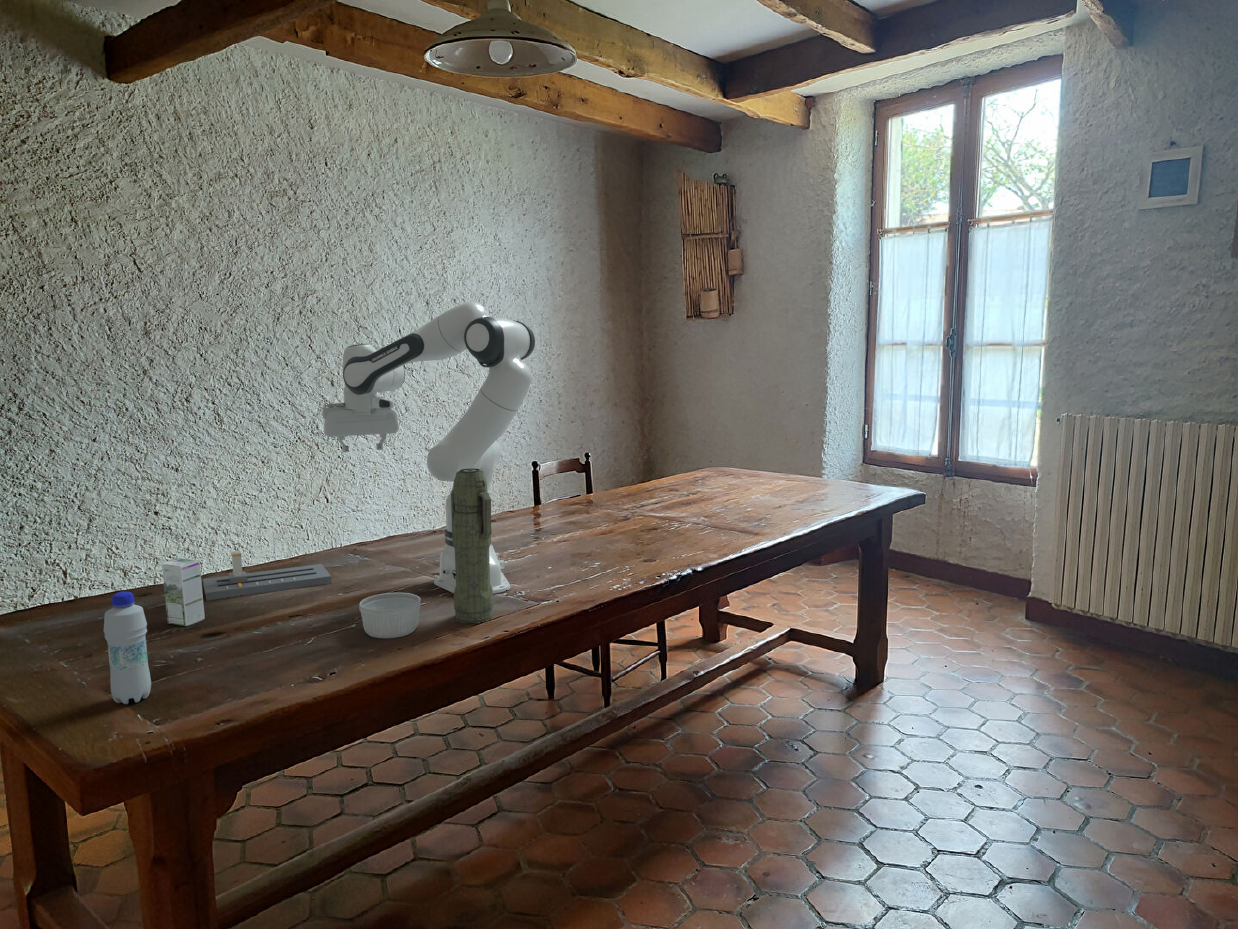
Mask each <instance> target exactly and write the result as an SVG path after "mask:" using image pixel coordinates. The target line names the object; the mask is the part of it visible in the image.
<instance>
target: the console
mask: <svg viewBox="0 0 1238 929" xmlns="http://www.w3.org/2000/svg"><path fill="white" fill-rule="evenodd" d="M246 574H247V582H240V583H232V584H231V583H230V580H229V575H223V576H222V575H221V576H215V577H206V578H202V582H203V583H202V585H203V586H202V587H203V590H204V594H205V595H206V596H205V595H204V596H205V599H206V601H213V600H221V598H222V599H228V598H227V597H229V598H236V597H241V596H240V595H244V596H251V595H257V594H258V595H259V594H265V593H271V592H278V591H279V592H280V591H287V590H292V589H293V590H294V589H300V588H308V587H315V586H322V585H331V584H332V575H331V574H330V573H329V571H328V570H327V569H326V568H325V566H324V565H323V563H318V564H311V565H310V564H309V565H304V566H294V567H287V568H278V569H271V570H262V571H255V572H246ZM235 596H236V597H235Z"/></svg>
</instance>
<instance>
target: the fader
mask: <svg viewBox="0 0 1238 929" xmlns="http://www.w3.org/2000/svg"><path fill="white" fill-rule="evenodd" d="M230 553H231V561H232V564H231V566H232V572H229V573H228V576H229V580H230V583H231V584H232V583H240V582H247V574H246V573H247V572H246V571H244V570H243V564H242V563H243V562H242V552H241V550H233V551H231V552H230Z"/></svg>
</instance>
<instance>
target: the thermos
mask: <svg viewBox="0 0 1238 929" xmlns="http://www.w3.org/2000/svg"><path fill="white" fill-rule="evenodd" d="M452 483H453V484H452V487H453V488H454V489H453V491H452V493H451V510H452V544H453V547H454V549H455V572H456V587H455V590H454V593H453V608H454V611H455V616H454V619H455V621H456V620H457V621H456V622H458V621H459V622H458V623H460V622H463V623H462V624H465V623H477V624H479V623H478V622H483V621H486V620H488V619H491V618H492V619H493V617H492V616H494V615H493V608H494V594H493V589H492V586H491V584H490V557H489V547H490V545H492V534H493V532H492V499H491V496H490V492H489V493H487V481H486V478H485V475H484V472H483V471H481V470H480V469H474V468H469V469H461V470H460V471H458V472H457V473H456V476H455V479H454V482H452ZM492 619H491V620H492ZM486 622H487V621H486ZM483 623H484V622H483Z"/></svg>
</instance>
